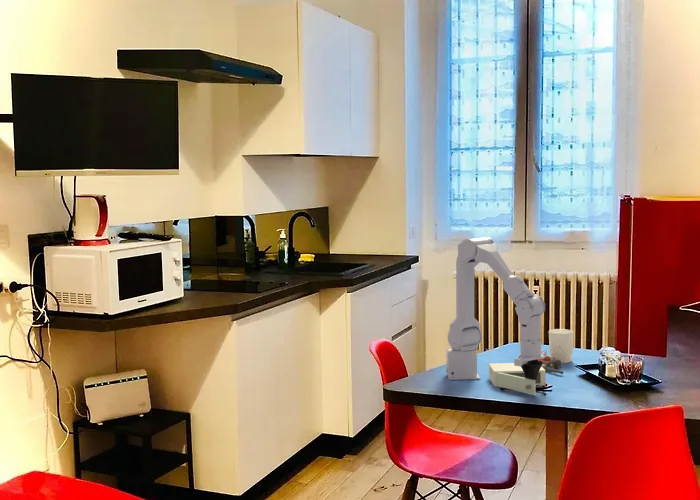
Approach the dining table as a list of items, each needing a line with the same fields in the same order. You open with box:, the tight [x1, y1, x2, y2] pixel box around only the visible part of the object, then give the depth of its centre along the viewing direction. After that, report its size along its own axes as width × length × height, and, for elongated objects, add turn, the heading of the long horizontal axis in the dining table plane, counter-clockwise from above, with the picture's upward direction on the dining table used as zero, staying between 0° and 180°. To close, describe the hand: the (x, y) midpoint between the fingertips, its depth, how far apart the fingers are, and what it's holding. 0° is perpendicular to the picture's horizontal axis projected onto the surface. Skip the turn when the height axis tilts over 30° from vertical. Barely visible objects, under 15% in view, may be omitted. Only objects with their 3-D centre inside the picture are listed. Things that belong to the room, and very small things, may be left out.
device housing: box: [488, 362, 547, 387], centre depth 229 cm, size 15×10×4 cm
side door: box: [496, 372, 537, 395], centre depth 218 cm, size 13×2×4 cm, turn 40°
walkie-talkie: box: [538, 353, 564, 375], centre depth 244 cm, size 9×4×20 cm
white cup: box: [548, 328, 574, 364], centre depth 253 cm, size 8×8×10 cm
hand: (531, 386), depth 216 cm, fingers closed
